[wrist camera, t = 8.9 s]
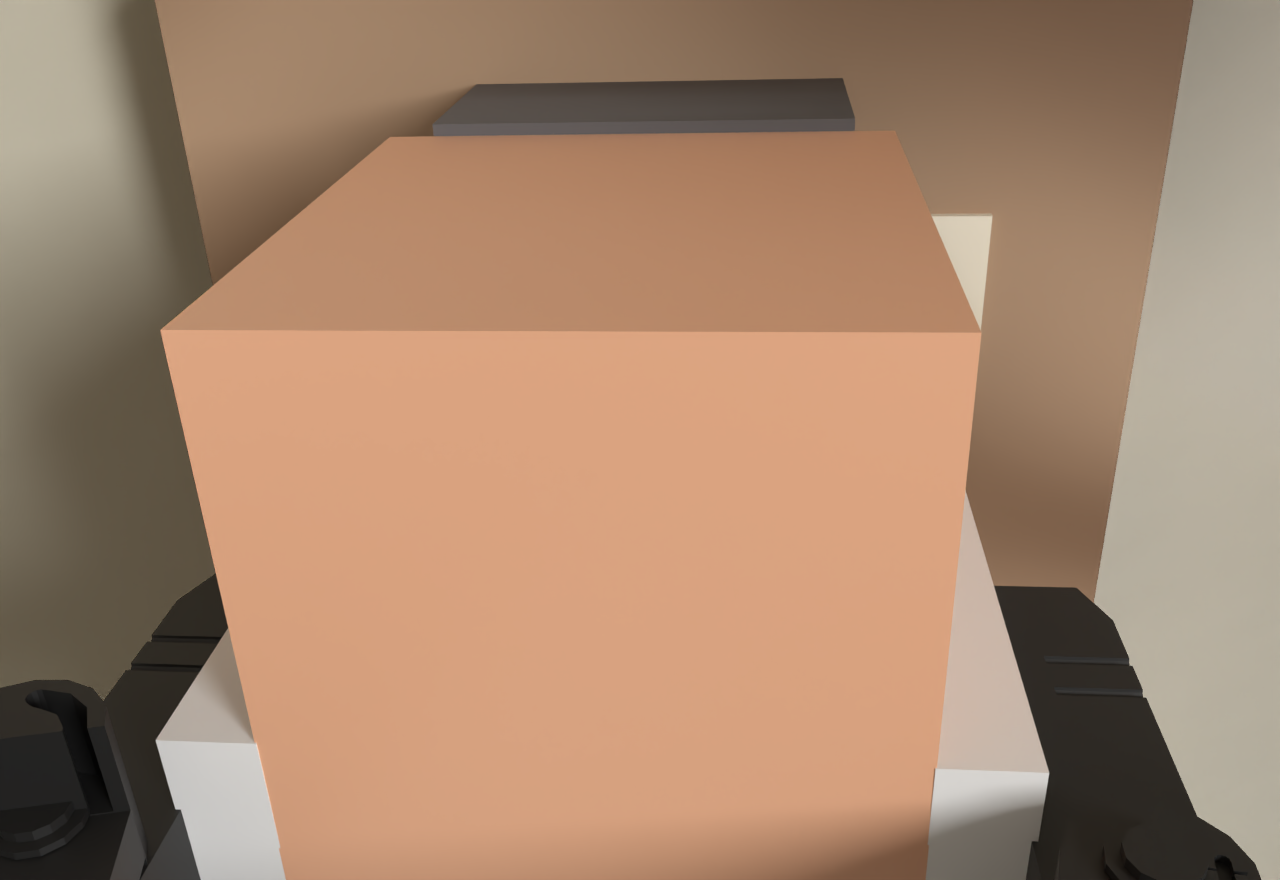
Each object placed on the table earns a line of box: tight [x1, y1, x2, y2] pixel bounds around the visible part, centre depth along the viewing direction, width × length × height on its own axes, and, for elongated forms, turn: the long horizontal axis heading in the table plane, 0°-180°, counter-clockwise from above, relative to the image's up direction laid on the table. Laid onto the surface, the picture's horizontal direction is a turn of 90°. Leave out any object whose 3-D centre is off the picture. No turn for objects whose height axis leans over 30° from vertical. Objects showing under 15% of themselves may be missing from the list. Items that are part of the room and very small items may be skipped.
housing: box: [160, 131, 982, 880], centre depth 11 cm, size 9×5×5 cm, turn 2°
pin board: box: [155, 0, 1193, 603], centre depth 14 cm, size 13×11×6 cm
